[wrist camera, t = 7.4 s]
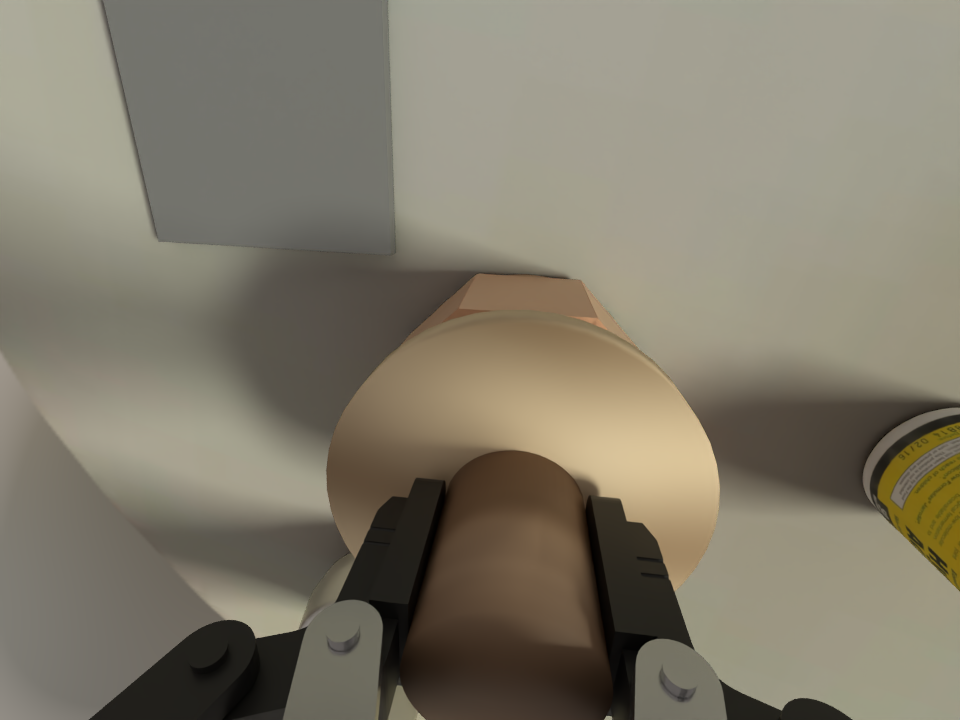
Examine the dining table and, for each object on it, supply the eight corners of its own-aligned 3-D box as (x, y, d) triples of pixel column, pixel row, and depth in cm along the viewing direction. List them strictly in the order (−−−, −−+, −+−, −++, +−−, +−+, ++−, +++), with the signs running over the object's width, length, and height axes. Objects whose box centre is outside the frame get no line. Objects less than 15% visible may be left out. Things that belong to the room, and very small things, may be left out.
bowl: (409, 267, 17) (363, 302, 12) (653, 282, 16) (700, 325, 12) (413, 464, 21) (378, 549, 16) (614, 485, 20) (639, 579, 15)
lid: (328, 296, 11) (157, 400, 6) (747, 324, 10) (956, 472, 5) (356, 587, 15) (265, 801, 10) (662, 625, 14) (735, 879, 9)
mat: (96, -98, 14) (78, -109, 13) (384, -99, 13) (377, -111, 12) (170, 239, 18) (158, 241, 17) (395, 252, 17) (391, 255, 16)
